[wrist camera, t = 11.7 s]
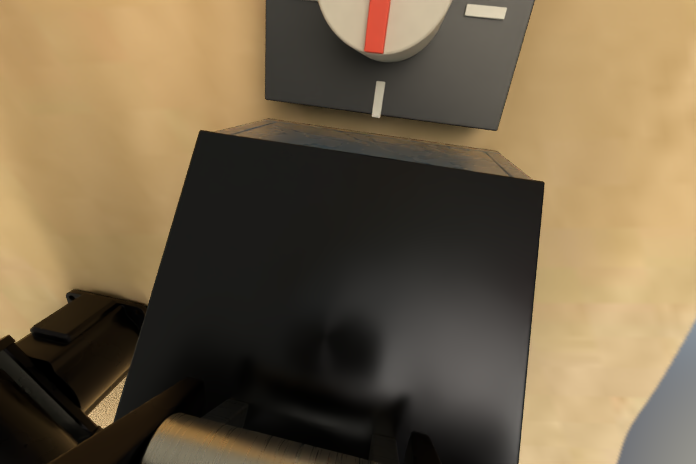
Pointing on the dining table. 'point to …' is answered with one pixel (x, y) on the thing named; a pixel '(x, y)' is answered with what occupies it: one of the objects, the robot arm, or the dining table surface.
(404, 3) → the dial
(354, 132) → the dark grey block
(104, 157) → the dining table surface
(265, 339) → the lid
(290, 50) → the control block
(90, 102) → the dining table surface
